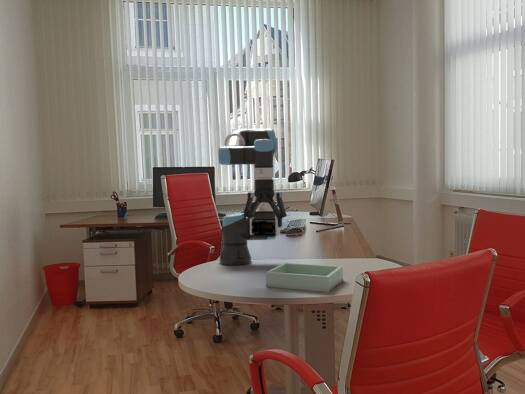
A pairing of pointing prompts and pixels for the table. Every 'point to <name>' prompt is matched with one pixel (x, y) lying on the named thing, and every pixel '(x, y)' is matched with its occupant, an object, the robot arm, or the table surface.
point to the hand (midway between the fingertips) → (265, 234)
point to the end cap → (263, 228)
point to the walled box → (304, 277)
